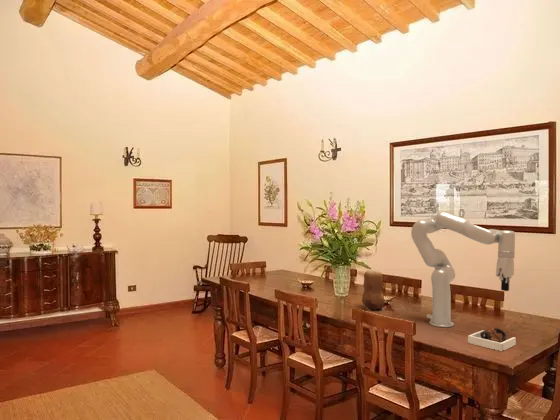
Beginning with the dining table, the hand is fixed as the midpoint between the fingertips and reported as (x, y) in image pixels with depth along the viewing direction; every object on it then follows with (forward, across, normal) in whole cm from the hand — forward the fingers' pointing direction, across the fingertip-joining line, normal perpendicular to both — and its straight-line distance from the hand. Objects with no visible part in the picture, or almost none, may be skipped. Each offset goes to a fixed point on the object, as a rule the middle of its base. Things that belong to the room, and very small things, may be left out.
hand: (505, 290), depth 228 cm
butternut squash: (+25, +10, -78) cm, 82 cm away
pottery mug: (+23, +18, +3) cm, 29 cm away
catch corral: (+23, +19, +4) cm, 30 cm away
